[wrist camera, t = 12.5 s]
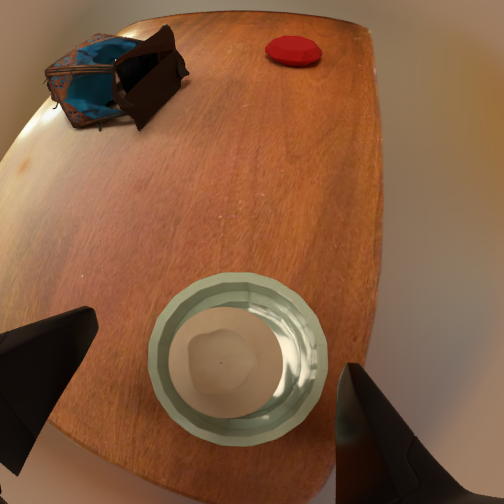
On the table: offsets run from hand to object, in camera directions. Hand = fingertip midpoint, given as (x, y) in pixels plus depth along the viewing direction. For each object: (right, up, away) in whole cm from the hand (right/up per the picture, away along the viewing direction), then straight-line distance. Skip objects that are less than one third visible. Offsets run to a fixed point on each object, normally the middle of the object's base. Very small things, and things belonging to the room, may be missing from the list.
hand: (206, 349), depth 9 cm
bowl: (+1, -5, +12) cm, 13 cm away
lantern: (-21, +26, +27) cm, 43 cm away
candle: (+1, -5, +12) cm, 13 cm away
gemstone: (+8, +35, +29) cm, 46 cm away
